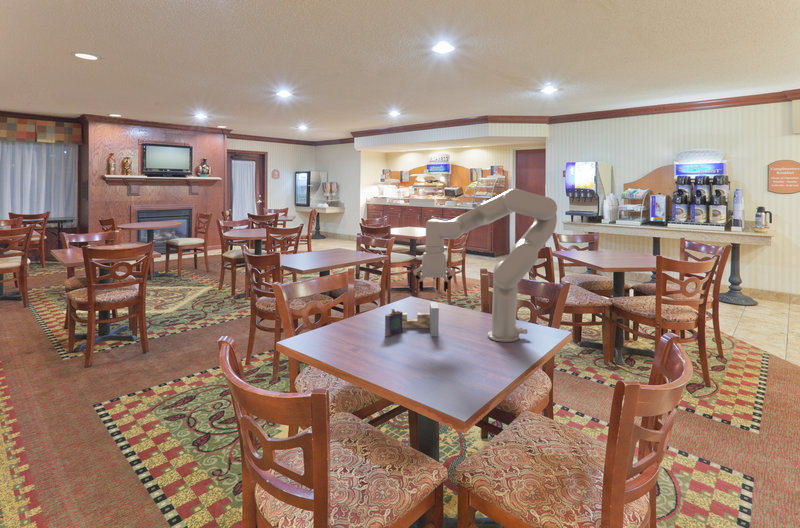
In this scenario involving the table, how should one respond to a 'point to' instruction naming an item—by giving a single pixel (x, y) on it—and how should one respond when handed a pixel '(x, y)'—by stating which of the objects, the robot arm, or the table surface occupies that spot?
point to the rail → (416, 321)
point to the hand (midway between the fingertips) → (433, 290)
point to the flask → (393, 323)
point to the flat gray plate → (434, 318)
